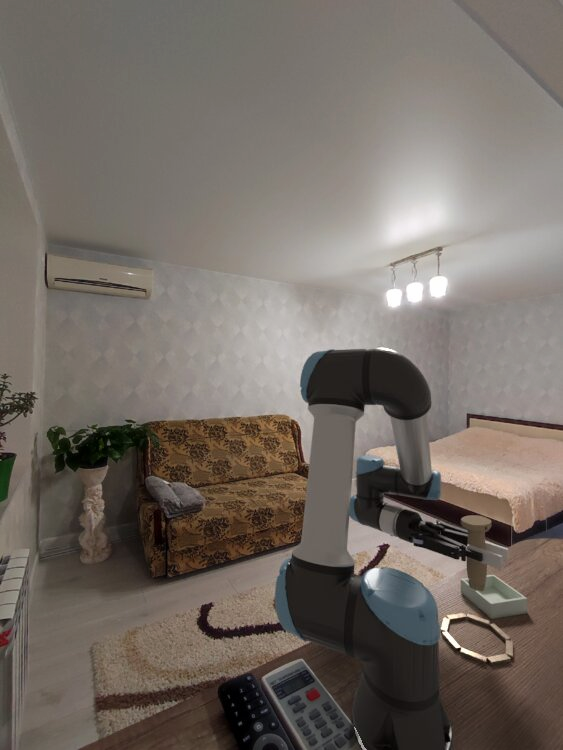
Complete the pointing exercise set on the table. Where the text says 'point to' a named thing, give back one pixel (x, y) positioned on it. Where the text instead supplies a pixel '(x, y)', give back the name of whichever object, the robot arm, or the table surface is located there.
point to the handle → (477, 538)
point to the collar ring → (469, 654)
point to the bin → (495, 598)
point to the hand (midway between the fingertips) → (504, 559)
